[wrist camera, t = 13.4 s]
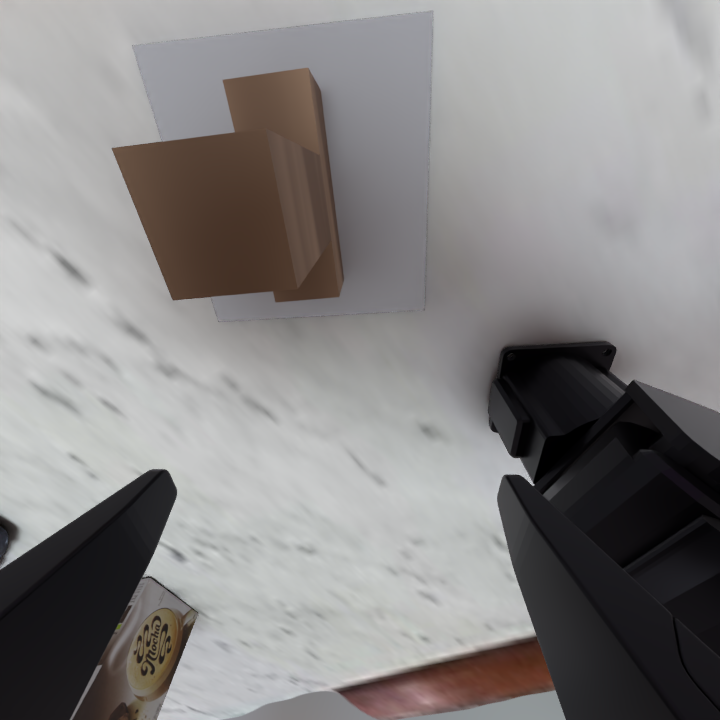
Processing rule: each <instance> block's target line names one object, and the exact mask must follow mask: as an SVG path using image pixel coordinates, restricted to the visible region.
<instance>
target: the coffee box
mask: <svg viewBox="0 0 720 720" xmlns="http://www.w3.org/2000/svg"><path fill="white" fill-rule="evenodd" d="M197 616H198V613H197V612H196V611H194V610H193V609H192V608H190V607H189V606H188V605H186V604H185V603H183V602H182V601H181V600H179V599H178V598H177V597H175V596H174V595H173V594H171V593H170V592H169V591H167V590H166V589H165V588H163V587H162V586H161V585H159V584H158V583H156V582H155V581H154V580H152V579H151V578H145V579H141V580H140V582H139V584H138V586H137V588H136V590H135V592H134V594H133V596H132V598H131V600H130V602H129V604H128V606H127V608H126V610H125V612H124V614H123V616H122V618H121V620H120V622H119V624H118V626H117V628H116V630H115V632H114V634H113V636H112V638H111V640H110V642H109V644H108V646H107V648H106V650H105V652H104V654H103V656H102V657H101V659H100V661H99V663H98V665H97V667H96V669H95V671H94V673H93V675H92V677H91V679H90V681H89V683H88V685H87V687H86V689H85V691H84V693H83V695H82V697H81V699H80V701H79V703H78V705H77V707H76V709H75V711H74V713H73V715H72V717H71V719H70V720H157V717H158V715H159V712H160V710H161V707H162V705H163V702H164V699H165V697H166V694H167V692H168V689H169V686H170V684H171V681H172V679H173V676H174V674H175V671H176V669H177V666H178V664H179V661H180V659H181V656H182V653H183V651H184V648H185V646H186V643H187V641H188V638H189V636H190V633H191V630H192V628H193V625H194V623H195V620H196V618H197Z"/></svg>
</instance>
